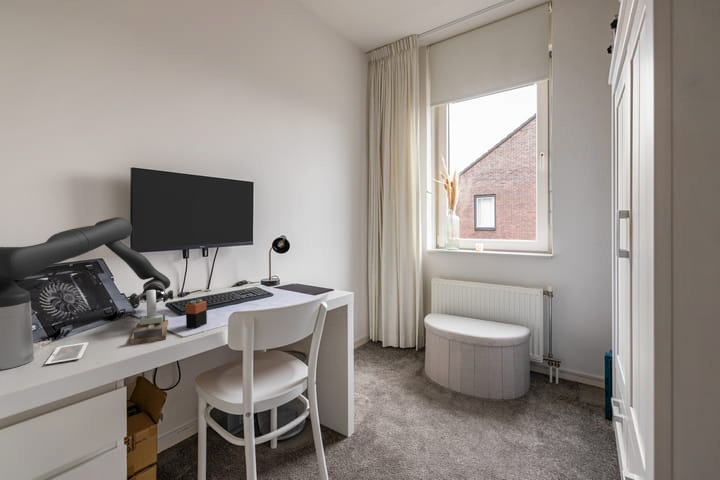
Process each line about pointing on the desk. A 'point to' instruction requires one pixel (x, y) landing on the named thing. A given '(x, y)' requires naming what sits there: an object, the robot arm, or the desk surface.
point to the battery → (196, 314)
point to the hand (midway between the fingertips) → (150, 300)
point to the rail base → (141, 327)
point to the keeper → (151, 310)
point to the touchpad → (67, 353)
